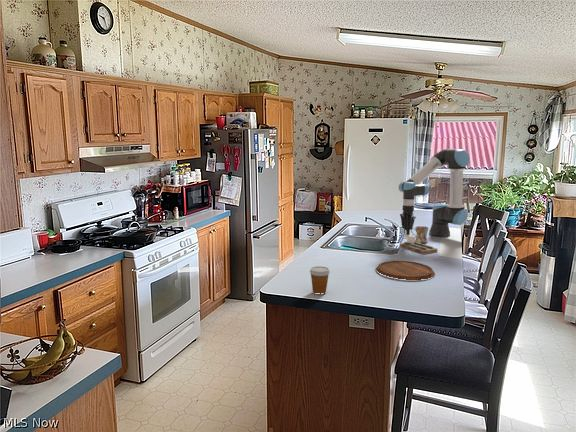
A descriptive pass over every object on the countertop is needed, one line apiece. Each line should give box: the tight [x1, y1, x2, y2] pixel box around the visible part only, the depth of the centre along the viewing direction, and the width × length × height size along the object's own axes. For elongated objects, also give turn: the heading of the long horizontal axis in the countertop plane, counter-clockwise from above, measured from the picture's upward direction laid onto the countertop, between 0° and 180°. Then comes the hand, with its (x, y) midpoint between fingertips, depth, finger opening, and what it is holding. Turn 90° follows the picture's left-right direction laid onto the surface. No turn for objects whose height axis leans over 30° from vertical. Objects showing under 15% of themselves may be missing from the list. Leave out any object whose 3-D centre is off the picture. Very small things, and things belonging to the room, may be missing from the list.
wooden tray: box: [399, 241, 438, 255], centre depth 302 cm, size 22×12×3 cm, turn 29°
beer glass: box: [309, 265, 331, 294], centre depth 219 cm, size 10×10×12 cm
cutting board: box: [375, 260, 436, 280], centre depth 254 cm, size 32×32×2 cm
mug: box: [410, 225, 430, 244], centre depth 321 cm, size 12×9×11 cm
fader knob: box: [406, 235, 416, 244], centre depth 308 cm, size 3×4×5 cm
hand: (406, 239), depth 311 cm, fingers closed
